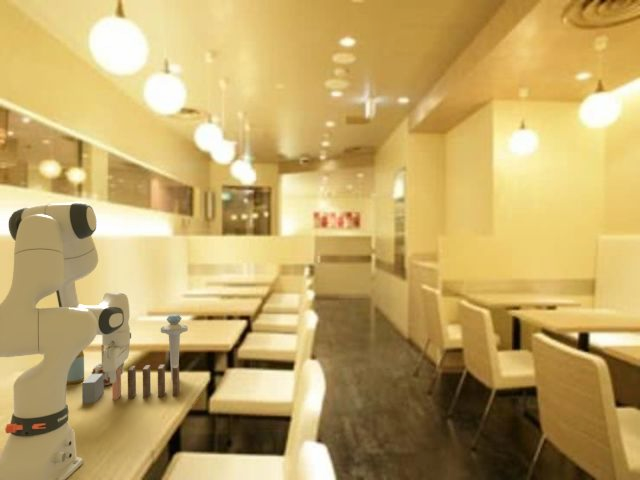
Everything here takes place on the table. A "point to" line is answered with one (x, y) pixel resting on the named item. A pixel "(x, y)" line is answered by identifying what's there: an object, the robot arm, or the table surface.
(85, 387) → the end block
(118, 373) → the domino
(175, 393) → the domino
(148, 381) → the domino
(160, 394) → the domino
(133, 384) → the domino
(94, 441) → the table surface
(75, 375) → the bottle
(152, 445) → the table surface
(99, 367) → the decorative ornament
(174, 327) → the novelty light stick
